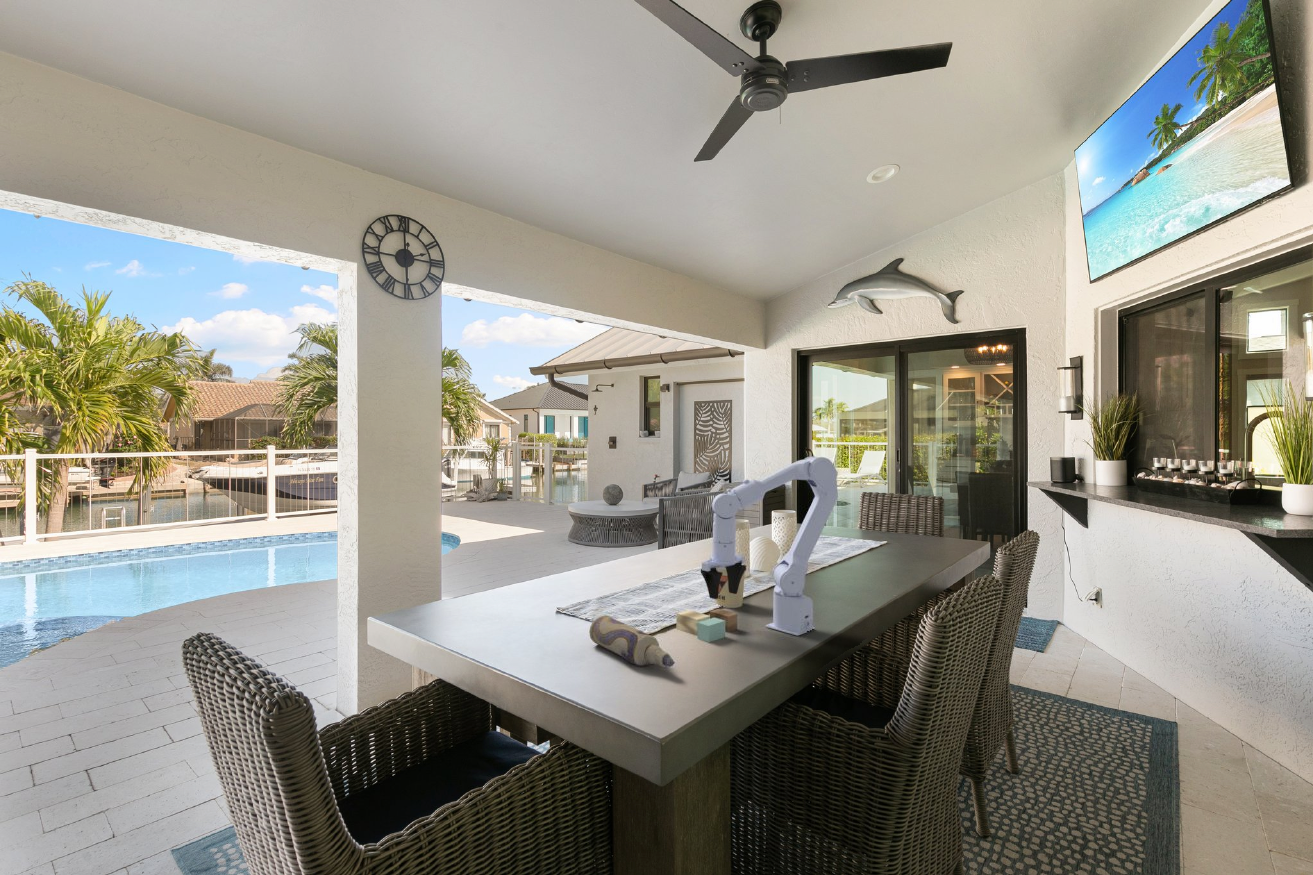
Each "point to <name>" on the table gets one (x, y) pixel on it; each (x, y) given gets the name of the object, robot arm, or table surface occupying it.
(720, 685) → the table surface
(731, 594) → the coffee cup
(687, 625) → the maple block
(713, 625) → the teal block
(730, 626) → the walnut block
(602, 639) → the decorative bottle
